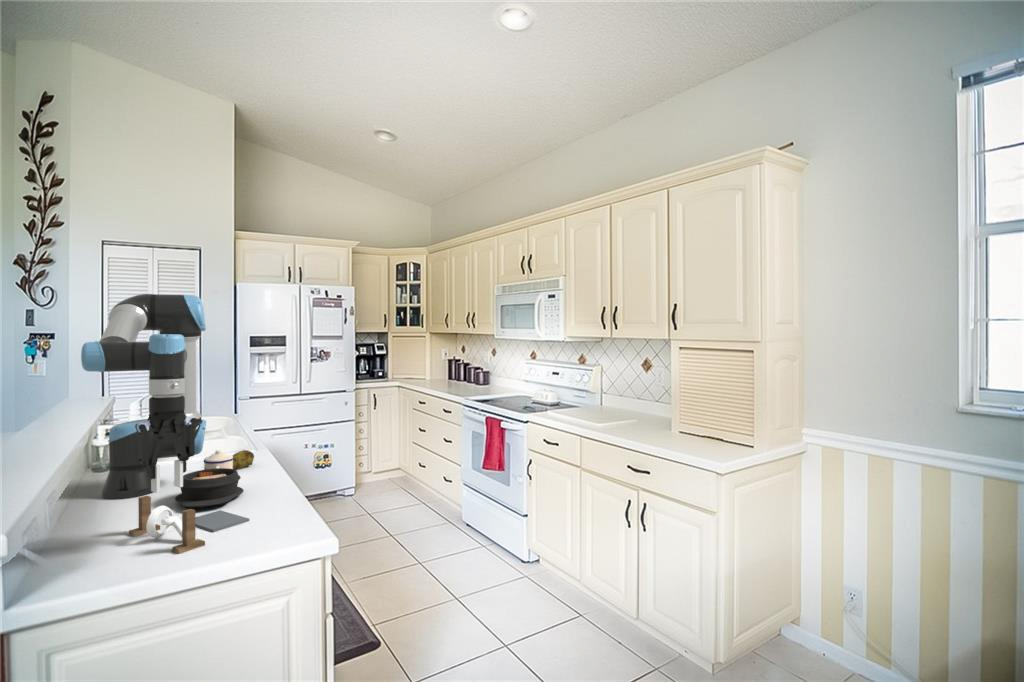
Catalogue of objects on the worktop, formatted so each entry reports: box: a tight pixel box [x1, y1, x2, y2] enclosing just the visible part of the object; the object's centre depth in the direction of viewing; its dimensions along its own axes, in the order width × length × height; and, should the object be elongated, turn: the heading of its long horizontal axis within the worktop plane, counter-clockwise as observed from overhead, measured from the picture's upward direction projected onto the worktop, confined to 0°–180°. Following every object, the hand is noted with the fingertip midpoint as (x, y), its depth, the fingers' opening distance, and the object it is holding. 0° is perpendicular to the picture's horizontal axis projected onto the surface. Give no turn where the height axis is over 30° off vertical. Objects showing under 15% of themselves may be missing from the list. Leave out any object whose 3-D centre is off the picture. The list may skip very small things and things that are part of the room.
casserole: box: [174, 468, 245, 508], centre depth 165 cm, size 25×19×8 cm
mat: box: [195, 509, 250, 533], centre depth 145 cm, size 14×10×1 cm
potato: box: [232, 449, 255, 471], centre depth 198 cm, size 8×13×8 cm, turn 117°
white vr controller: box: [146, 504, 182, 538], centre depth 132 cm, size 8×12×7 cm
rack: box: [128, 495, 206, 555], centre depth 132 cm, size 24×6×9 cm, turn 59°
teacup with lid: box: [203, 449, 234, 470], centre depth 182 cm, size 12×9×12 cm
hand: (167, 488), depth 133 cm, fingers open, 5 cm apart
